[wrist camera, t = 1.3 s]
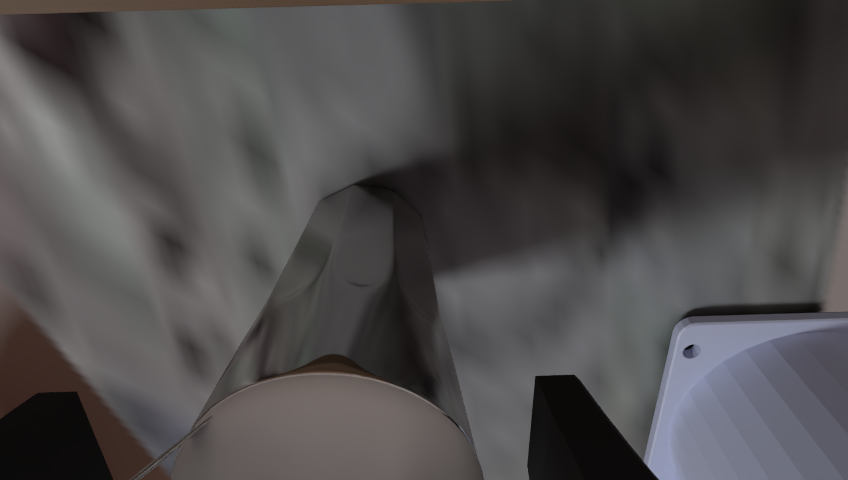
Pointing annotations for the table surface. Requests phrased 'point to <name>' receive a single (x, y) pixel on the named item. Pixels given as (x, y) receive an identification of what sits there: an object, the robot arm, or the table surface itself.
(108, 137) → the table surface
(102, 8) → the socket box
